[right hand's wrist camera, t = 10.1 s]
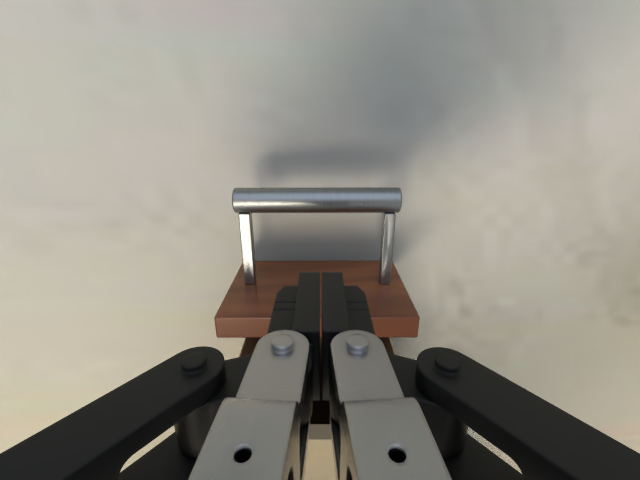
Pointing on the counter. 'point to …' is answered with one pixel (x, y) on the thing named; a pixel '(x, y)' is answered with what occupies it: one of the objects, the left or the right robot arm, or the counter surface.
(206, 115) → the counter surface
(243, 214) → the drawer
